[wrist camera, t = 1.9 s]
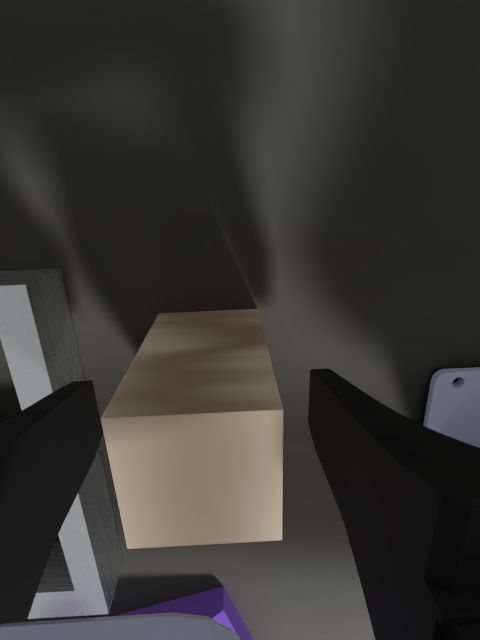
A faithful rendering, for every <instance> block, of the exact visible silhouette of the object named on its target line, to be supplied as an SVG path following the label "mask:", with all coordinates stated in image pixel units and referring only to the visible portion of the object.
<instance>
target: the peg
mask: <svg viewBox="0 0 480 640" xmlns="http://www.w3.org/2000/svg"><path fill="white" fill-rule="evenodd" d="M101 422H102V427H103V432H104V437H105V442H106V447H107V451H108V456H109V461H110V466H111V471H112V476H113V481H114V486H115V491H116V495H117V500H118V505H119V510H120V515H121V520H122V525H123V530H124V535H125V539H126V544H127V549H134V548H152V547H169V546H187V545H205V544H222V543H240V542H257V541H275V540H282V488H283V407H282V403H281V399H280V395H279V391H278V387H277V383H276V379H275V375H274V371H273V367H272V363H271V360H270V356H269V352H268V348H267V344H266V340H265V336H264V332H263V328H262V324H261V320H260V316H259V312H258V309H245V310H222V311H199V312H176V313H159V314H158V316H157V318H156V319H155V321H154V323H153V325H152V327H151V328H150V330H149V332H148V334H147V336H146V338H145V339H144V341H143V343H142V345H141V347H140V348H139V350H138V352H137V354H136V356H135V357H134V359H133V361H132V363H131V365H130V367H129V368H128V370H127V372H126V374H125V376H124V377H123V379H122V381H121V383H120V385H119V386H118V388H117V390H116V392H115V394H114V396H113V397H112V399H111V401H110V403H109V405H108V406H107V408H106V410H105V412H104V414H103V415H102V417H101Z"/></svg>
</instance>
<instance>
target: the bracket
mask: <svg viewBox="0 0 480 640" xmlns="http://www.w3.org/2000/svg"><path fill="white" fill-rule="evenodd" d="M171 612H173V613H182V614H192V615H202V616H208V617H209V618H211V619H213V620H215V621H217V622H219V623H221V624H222V625H224V626H226V627H228V628H230V629H232V630H233V631H234V632H235V633H236V634H237V635H238V636H239V637H240V639H241V640H253V639H252V637H251V635H250V633H249V631H248V630H247V628H246V626H245V624H244V622H243V620H242V619H241V617H240V615H239V613H238V611H237V610H236V608H235V606H234V604H233V602H232V600H231V599H230V597H229V595H228V593H227V591H226V590H225V588H224V586H222V587H218V588H215V589H211V590H207V591H204V592H200V593H196V594H193V595H189V596H185V597H182V598H178V599H174V600H171V601H167V602H163V603H160V604H156V605H152V606H149V607H145V608H141V609H138V610H134V611H130V612H127V613H123V614H119V615H116V616H126V615H141V614H156V613H171Z"/></svg>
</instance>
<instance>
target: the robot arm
mask: <svg viewBox="0 0 480 640" xmlns="http://www.w3.org/2000/svg"><path fill="white" fill-rule="evenodd" d="M458 377H459V379H458V381H456V382H455V383H452V382H453V380H454V379H456V378H458ZM308 422H309V426H310V431H311V435H312V439H313V442H314V446H315V449H316V452H317V455H318V457H319V460H320V462H321V465H322V467H323V470H324V472H325V475H326V477H327V480H328V482H329V485H330V487H331V490H332V492H333V495H334V497H335V500H336V502H337V505H338V507H339V510H340V513H341V516H342V518H343V521H344V524H345V528H346V531H347V535H348V538H349V542H350V545H351V549H352V552H353V555H354V559H355V563H356V566H357V570H358V574H359V578H360V581H361V585H362V589H363V592H364V596H365V600H366V604H367V608H368V612H369V616H370V620H371V624H372V628H373V631H374V635H375V639H376V640H480V367H473V368H452V369H441V370H439V371H437V372H435V373H434V375H433V376H432V378H431V383H430V388H429V394H428V400H427V406H426V411H425V417H424V423H423V425H421V424H419V423H417V422H415V421H413V420H411V419H409V418H407V417H405V416H403V415H401V414H399V413H397V412H395V411H394V410H392V409H390V408H388V407H387V406H385V405H383V404H382V403H380V402H378V401H377V400H375V399H373V398H372V397H370V396H369V395H367V394H366V393H364V392H363V391H361V390H360V389H358V388H357V387H355V386H354V385H352V384H351V383H349V382H348V381H347V380H345V379H344V378H342V377H341V376H339V375H338V374H336V373H335V372H333V371H332V370H330V369H311V370H310V389H309V415H308ZM102 433H103V431H102V426H101V421H100V416H99V411H98V406H97V402H96V397H95V392H94V387H93V382H92V380H91V381H73V382H71V383H69V384H67V385H65V386H63V387H61V388H59V389H58V390H56V391H54V392H52V393H51V394H49V395H47V396H46V397H44V398H42V399H41V400H39V401H37V402H36V403H34V404H32V405H31V406H29V407H27V408H26V409H24V410H22V411H21V412H19V413H17V414H15V415H14V416H12V417H10V418H8V419H7V420H5V421H3V422H1V423H0V640H241V639H240V637H239V636H238V635H237V634H236V633H235V632H234V631H233V630H232V629H230V628H228V627H226V626H224V625H222V624H221V623H219V622H217V621H215V620H213V619H211V618H209V617H208V616H202V615H192V614H182V613H173V612H171V613H156V614H141V615H126V616H111V617H95V618H80V619H65V620H50V621H35V622H27V619H28V616H29V613H30V610H31V607H32V604H33V601H34V598H35V595H36V592H37V590H38V587H39V584H40V581H41V578H42V575H43V572H44V570H45V567H46V564H47V562H48V559H49V556H50V554H51V551H52V548H53V546H54V543H55V540H56V538H57V536H58V534H59V531H60V529H61V527H62V525H63V523H64V521H65V519H66V516H67V514H68V512H69V510H70V508H71V506H72V504H73V502H74V500H75V498H76V496H77V494H78V492H79V490H80V488H81V486H82V484H83V482H84V480H85V478H86V476H87V474H88V471H89V469H90V467H91V465H92V463H93V461H94V458H95V455H96V452H97V450H98V446H99V443H100V440H101V437H102Z"/></svg>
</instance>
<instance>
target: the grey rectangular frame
mask: <svg viewBox="0 0 480 640" xmlns="http://www.w3.org/2000/svg"><path fill="white" fill-rule="evenodd" d="M0 338H1V342H2V345H3V349H4V352H5V355H6V359H7V362H8V366H9V369H10V372H11V376H12V379H13V383H14V386H15V389H16V393H17V396H18V400H19V403H20V406H21V410H24V409H26V408H27V407H29V406H31V405H32V404H34V403H36V402H37V401H39V400H41V399H42V398H44V397H46V396H47V395H49V394H51V393H52V392H54V391H56V390H58V389H59V388H61V387H63V386H65V385H67V384H69V383H71V382H73V381H85V380H84V375H83V371H82V366H81V361H80V357H79V352H78V347H77V343H76V338H75V333H74V329H73V324H72V319H71V315H70V310H69V305H68V301H67V296H66V291H65V287H64V282H63V277H62V273H61V268H54V269H30V270H6V271H0ZM58 536H59V539H60V542H55V543H54V546H53V548H52V551H51V554H50V556H49V559H48V562H47V564H46V567H45V570H44V572H43V575H42V578H41V581H40V584H39V587H38V590H37V592H36V595H35V598H34V601H33V604H32V607H31V610H30V613H29V616H28V619H35V618H51V617H68V616H85V615H102V614H109V611H110V608H111V604H112V601H113V597H114V593H115V590H116V586H117V583H118V579H119V576H120V572H121V568H122V565H123V558H122V553H121V548H120V544H119V539H118V534H117V530H116V525H115V520H114V516H113V511H112V506H111V502H110V497H109V492H108V488H107V483H106V478H105V474H104V469H103V464H102V460H101V455H100V450H99V446H98V450H97V452H96V455H95V458H94V461H93V463H92V465H91V467H90V469H89V471H88V474H87V476H86V478H85V480H84V482H83V484H82V486H81V488H80V490H79V492H78V494H77V496H76V498H75V500H74V502H73V504H72V506H71V508H70V510H69V512H68V514H67V516H66V519H65V521H64V523H63V525H62V527H61V529H60V531H59V534H58Z"/></svg>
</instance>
